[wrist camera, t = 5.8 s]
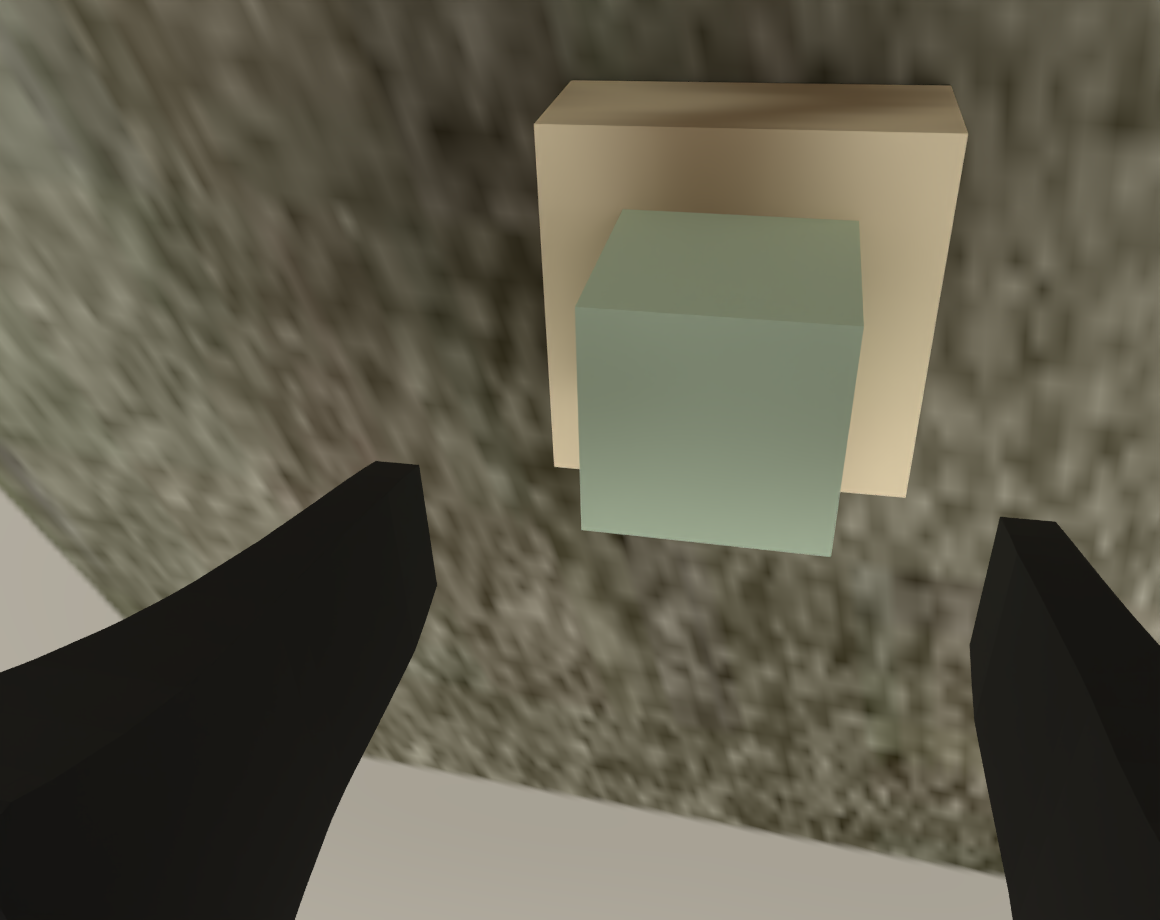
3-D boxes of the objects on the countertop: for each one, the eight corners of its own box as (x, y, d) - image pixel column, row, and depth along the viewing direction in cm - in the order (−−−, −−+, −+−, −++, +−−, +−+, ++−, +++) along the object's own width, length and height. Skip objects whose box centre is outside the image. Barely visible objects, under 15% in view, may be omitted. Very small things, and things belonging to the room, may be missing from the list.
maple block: (951, 85, 18) (967, 133, 16) (898, 417, 22) (905, 497, 20) (571, 79, 20) (533, 123, 17) (583, 395, 24) (554, 466, 21)
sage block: (858, 221, 17) (863, 326, 14) (832, 424, 19) (830, 556, 16) (623, 209, 18) (575, 306, 15) (623, 406, 20) (581, 530, 17)
